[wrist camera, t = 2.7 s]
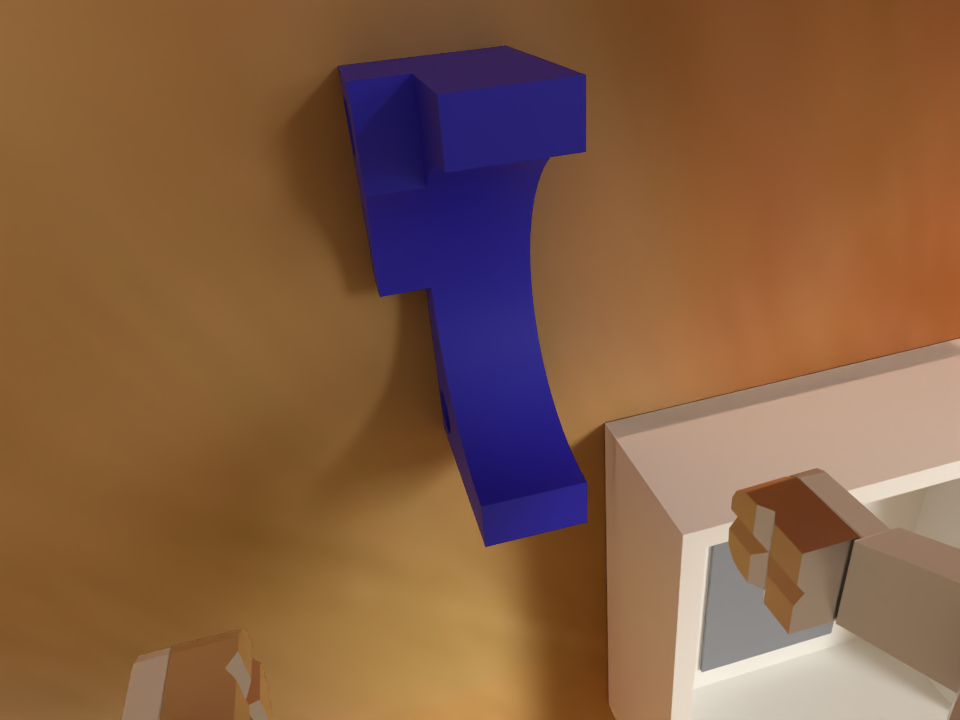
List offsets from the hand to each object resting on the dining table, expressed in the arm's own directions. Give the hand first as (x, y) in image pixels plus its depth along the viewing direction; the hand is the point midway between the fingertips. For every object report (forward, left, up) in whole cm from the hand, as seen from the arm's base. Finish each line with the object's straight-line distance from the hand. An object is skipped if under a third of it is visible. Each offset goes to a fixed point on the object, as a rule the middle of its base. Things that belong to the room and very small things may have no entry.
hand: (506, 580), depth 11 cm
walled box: (-14, +16, -12) cm, 24 cm away
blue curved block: (-2, 0, -12) cm, 12 cm away
